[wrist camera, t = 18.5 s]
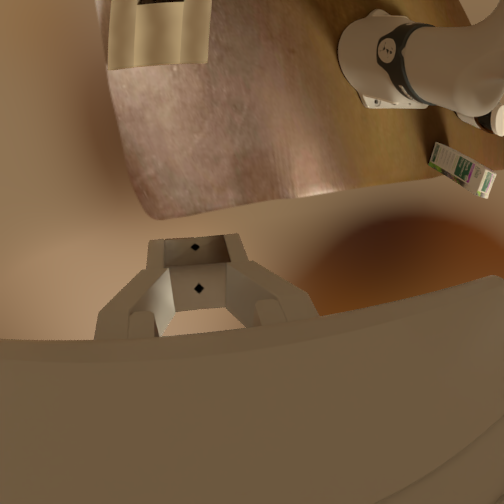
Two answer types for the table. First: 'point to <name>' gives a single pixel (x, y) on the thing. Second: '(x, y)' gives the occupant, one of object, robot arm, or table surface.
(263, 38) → the table surface
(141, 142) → the table surface
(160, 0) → the bushing
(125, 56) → the frame
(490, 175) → the syrup box
